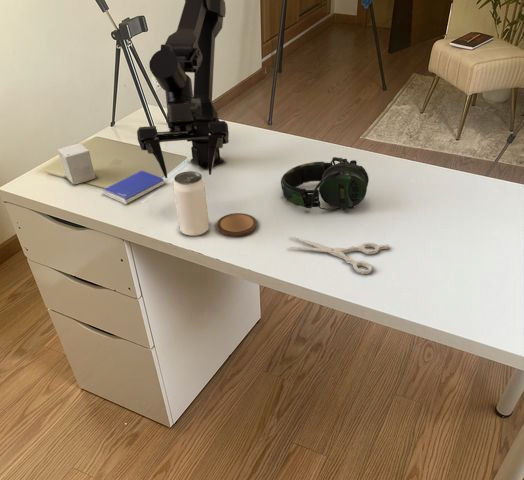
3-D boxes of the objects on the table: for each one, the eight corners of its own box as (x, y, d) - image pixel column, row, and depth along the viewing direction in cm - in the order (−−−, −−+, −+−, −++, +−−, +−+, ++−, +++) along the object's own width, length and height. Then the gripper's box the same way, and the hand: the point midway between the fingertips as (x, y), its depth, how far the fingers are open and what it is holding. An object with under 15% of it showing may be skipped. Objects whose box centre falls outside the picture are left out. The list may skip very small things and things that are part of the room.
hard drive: (125, 198, 124) (163, 178, 131) (102, 188, 128) (141, 169, 134) (126, 204, 125) (164, 184, 132) (104, 194, 129) (142, 175, 136)
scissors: (377, 273, 102) (279, 253, 107) (377, 277, 102) (279, 256, 108) (389, 244, 109) (296, 227, 114) (388, 247, 109) (296, 230, 115)
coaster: (240, 212, 121) (240, 208, 121) (265, 227, 116) (265, 223, 116) (209, 225, 117) (208, 222, 117) (233, 242, 112) (233, 238, 112)
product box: (96, 178, 135) (89, 150, 130) (73, 185, 132) (65, 157, 127) (87, 170, 139) (80, 142, 133) (65, 176, 136) (56, 148, 131)
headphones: (371, 161, 125) (289, 167, 131) (366, 138, 112) (275, 146, 118) (369, 218, 125) (287, 221, 130) (364, 201, 112) (273, 206, 118)
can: (214, 223, 118) (208, 172, 110) (202, 239, 114) (196, 186, 105) (187, 219, 120) (180, 168, 111) (175, 234, 115) (166, 182, 107)
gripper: (128, 86, 103) (137, 165, 103) (224, 79, 105) (233, 157, 105) (137, 112, 114) (145, 184, 114) (224, 106, 116) (231, 177, 116)
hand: (188, 175), depth 112 cm, fingers open, 9 cm apart
